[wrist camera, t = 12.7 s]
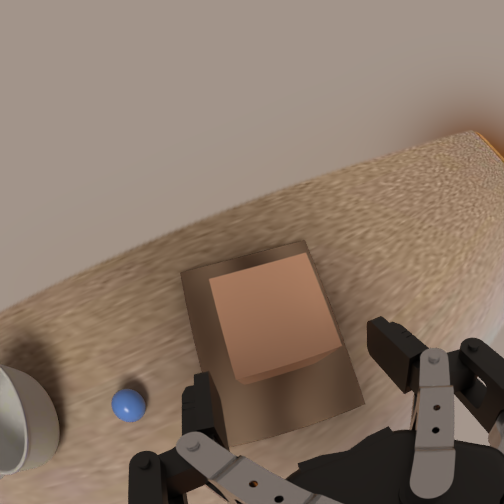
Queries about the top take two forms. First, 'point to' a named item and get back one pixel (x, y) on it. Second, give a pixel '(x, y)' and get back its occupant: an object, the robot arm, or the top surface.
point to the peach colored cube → (273, 318)
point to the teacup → (25, 423)
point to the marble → (128, 405)
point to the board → (275, 388)
